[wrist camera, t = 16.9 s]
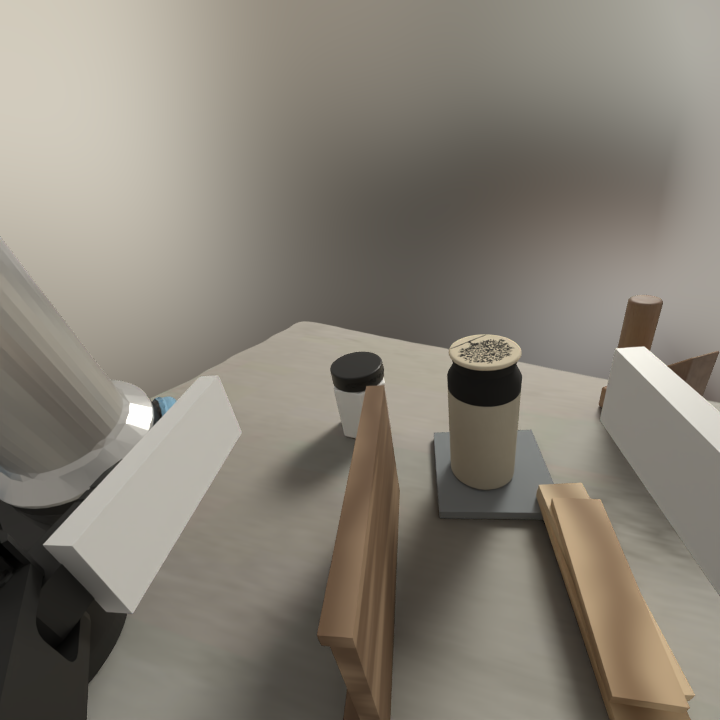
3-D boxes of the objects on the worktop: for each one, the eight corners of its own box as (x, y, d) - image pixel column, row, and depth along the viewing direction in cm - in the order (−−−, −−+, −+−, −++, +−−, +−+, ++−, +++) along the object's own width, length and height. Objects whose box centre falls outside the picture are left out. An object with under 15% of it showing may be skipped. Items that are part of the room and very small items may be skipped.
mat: (439, 518, 44) (439, 511, 43) (434, 438, 56) (433, 432, 55) (564, 519, 41) (565, 513, 41) (530, 435, 53) (531, 429, 53)
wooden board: (344, 740, 28) (290, 633, 20) (373, 491, 49) (353, 386, 40) (389, 746, 28) (352, 638, 19) (399, 491, 48) (384, 385, 40)
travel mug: (527, 478, 45) (541, 354, 37) (471, 500, 44) (472, 376, 35) (489, 439, 52) (493, 326, 43) (440, 457, 51) (433, 344, 42)
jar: (357, 449, 56) (344, 386, 50) (333, 424, 63) (318, 365, 57) (402, 424, 60) (395, 362, 54) (375, 402, 66) (365, 345, 60)
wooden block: (661, 452, 47) (704, 327, 38) (597, 405, 56) (620, 297, 48) (685, 444, 48) (733, 320, 39) (618, 400, 57) (644, 291, 48)
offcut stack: (608, 733, 27) (620, 718, 24) (532, 496, 43) (535, 475, 41) (700, 743, 25) (721, 728, 23) (586, 496, 42) (592, 474, 40)
